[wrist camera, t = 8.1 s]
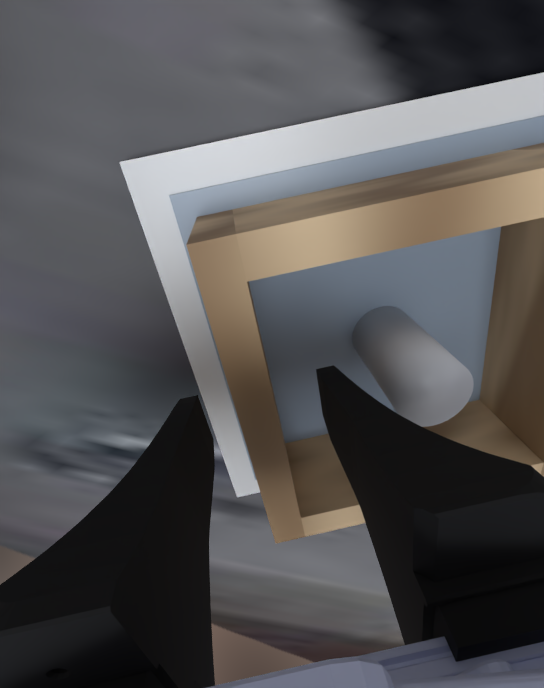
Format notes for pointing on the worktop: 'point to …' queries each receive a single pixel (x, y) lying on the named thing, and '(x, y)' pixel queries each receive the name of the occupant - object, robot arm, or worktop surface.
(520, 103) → the post stand
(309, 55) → the worktop surface
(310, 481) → the wood collar
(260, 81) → the worktop surface
